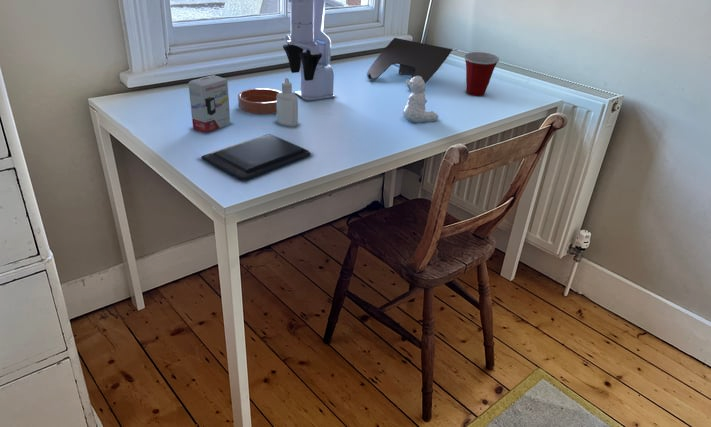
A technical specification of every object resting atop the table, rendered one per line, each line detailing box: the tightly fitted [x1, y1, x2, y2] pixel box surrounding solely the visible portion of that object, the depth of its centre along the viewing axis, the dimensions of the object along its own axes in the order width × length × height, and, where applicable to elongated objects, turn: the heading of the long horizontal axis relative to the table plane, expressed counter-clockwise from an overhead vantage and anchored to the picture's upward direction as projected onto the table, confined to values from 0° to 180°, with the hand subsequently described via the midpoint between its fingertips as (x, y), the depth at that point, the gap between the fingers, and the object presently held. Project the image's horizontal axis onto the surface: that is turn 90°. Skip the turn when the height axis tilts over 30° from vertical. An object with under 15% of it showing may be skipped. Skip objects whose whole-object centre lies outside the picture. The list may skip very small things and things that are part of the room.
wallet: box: [201, 133, 311, 182], centre depth 113 cm, size 20×2×15 cm
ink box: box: [188, 74, 231, 134], centre depth 125 cm, size 9×5×12 cm, turn 148°
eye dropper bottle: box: [276, 77, 299, 128], centre depth 129 cm, size 4×6×12 cm
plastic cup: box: [463, 51, 500, 97], centre depth 162 cm, size 11×11×12 cm
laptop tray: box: [366, 37, 454, 92], centre depth 173 cm, size 23×23×9 cm
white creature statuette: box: [402, 76, 439, 123], centre depth 138 cm, size 10×9×12 cm
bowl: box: [237, 88, 281, 115], centre depth 141 cm, size 13×13×4 cm
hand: (301, 76), depth 134 cm, fingers open, 7 cm apart
